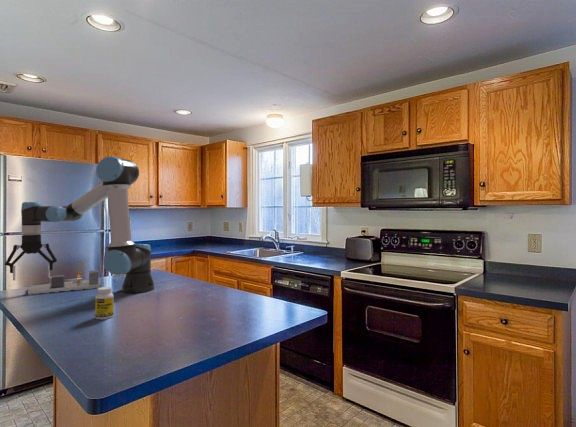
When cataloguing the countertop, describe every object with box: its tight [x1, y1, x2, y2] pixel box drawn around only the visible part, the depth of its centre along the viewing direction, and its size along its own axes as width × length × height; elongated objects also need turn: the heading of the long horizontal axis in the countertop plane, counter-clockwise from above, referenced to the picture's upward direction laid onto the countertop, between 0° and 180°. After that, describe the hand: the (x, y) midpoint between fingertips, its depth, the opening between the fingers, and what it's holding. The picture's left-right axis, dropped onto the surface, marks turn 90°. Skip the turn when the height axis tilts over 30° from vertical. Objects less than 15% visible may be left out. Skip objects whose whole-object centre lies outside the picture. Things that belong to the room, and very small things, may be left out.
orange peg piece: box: [76, 270, 81, 282], centre depth 185 cm, size 2×3×5 cm, turn 32°
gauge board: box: [27, 269, 102, 296], centre depth 179 cm, size 30×13×8 cm, turn 122°
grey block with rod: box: [49, 274, 83, 288], centre depth 179 cm, size 14×10×5 cm
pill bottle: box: [94, 286, 115, 320], centre depth 133 cm, size 6×6×11 cm
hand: (31, 278), depth 170 cm, fingers open, 13 cm apart
